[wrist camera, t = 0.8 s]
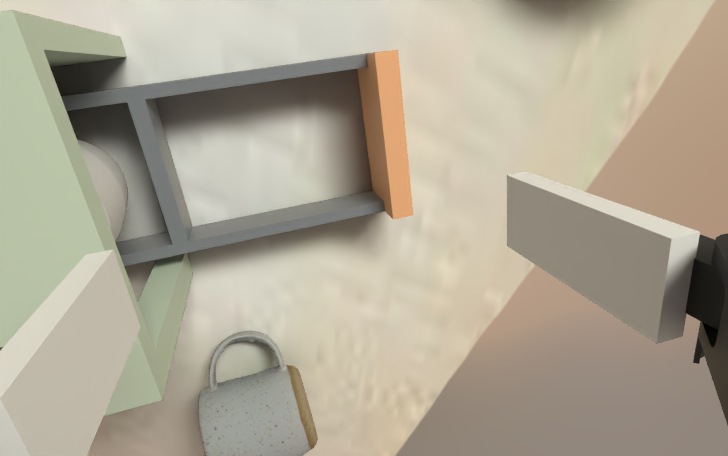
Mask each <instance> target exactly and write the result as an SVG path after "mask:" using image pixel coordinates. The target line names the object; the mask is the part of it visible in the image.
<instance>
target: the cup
mask: <svg viewBox="0 0 728 456" xmlns="http://www.w3.org/2000/svg"><path fill="white" fill-rule="evenodd" d="M77 141H78V144H79V146H80V149H81V152H82V154H83V157H84V160H85V163H86V165H87V168H88V171H89V173H90V176H91V179H92V181H93V184H94V187H95V189H96V192H97V195H98V197H99V200H100V203H101V205H102V208H103V211H104V214H105V216H106V219H107V222H108V224H109V227H110V230H111V232H112V235H113V238H114V240H115V241H116V239H117V237H118V235H119V233H120V231H121V229H122V226H123V222H124V217H125V212H126V206H127V200H128V188H127V183H126V180H125V177H124V175H123V173H122V171H121V169H120V167H119V165H118V164H117V163H116V161H115V160H114V159H113V158H112V157H111V156H110V155H108V154H107V153H106V152H104V151H103V150H101V149H99V148H98V147H96V146H94V145H92V144H90V143H87V142H84V141H81V140H77Z"/></svg>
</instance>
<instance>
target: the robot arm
mask: <svg viewBox="0 0 728 456" xmlns="http://www.w3.org/2000/svg"><path fill="white" fill-rule="evenodd" d="M507 246H508V247H510V248H511V249H513V250H514V251H516V252H517V253H519V254H520V255H522V256H523V257H525V258H526V259H528V260H529V261H531V262H533V263H534V264H536V265H537V266H539V267H540V268H542V269H543V270H545V271H546V272H548V273H549V274H551V275H553V276H554V277H555V278H557V279H559V280H560V281H561V282H563V283H565V284H566V285H568V286H569V287H571V288H572V289H574V290H575V291H577V292H578V293H580V294H581V295H583V296H584V297H586V298H587V299H589V300H590V301H592V302H593V303H595V304H597V305H598V306H600V307H601V308H603V309H604V310H606V311H607V312H609V313H610V314H612V315H613V316H615V317H617V318H618V319H620V320H621V321H622V322H624V323H626V324H627V325H628V326H630V327H632V328H633V329H635V330H636V331H638V332H639V333H641V334H643V335H644V336H645V337H647V338H648V339H650V340H651V341H653V342H654V343H656V344H657V343H661V342H664V341H668V340H671V339H674V338H678V337H681V336H683V331H684V325H685V319H686V313H687V314H689V315H690V316H692V317H694V318H696V319H698V320H700V321H701V322H700V327H699V333H698V338H697V344H696V349H695V355H694V361H693V362H694V363H699V361H700V358H701V357H703V356H705V358H706V361H707V365H708V367H709V370H710V373H711V376H712V379H713V382H714V385H715V388H716V391H717V394H718V397H719V400H720V403H721V406H722V409H723V412H724V415H725V418H726V421H727V424H728V234H723V235H720V236H718V237H717V238H716V240H714V239H711V238H708V237H706V236H703V235H700V232H698V231H696V230H693V229H690V228H687V227H684V226H681V225H679V224H676V223H672V222H670V221H667V220H664V219H661V218H658V217H655V216H653V215H650V214H647V213H644V212H641V211H638V210H635V209H632V208H629V207H627V206H623V205H621V204H618V203H615V202H612V201H609V200H606V199H604V198H601V197H598V196H595V195H592V194H589V193H586V192H583V191H580V190H578V189H575V188H572V187H569V186H566V185H563V184H560V183H557V182H555V181H552V180H549V179H546V178H543V177H540V176H537V175H534V174H531V173H529V172H522V173H516V174H511V175H507ZM139 330H140V324H139V321H138V318H137V315H136V313H135V310H134V307H133V304H132V301H131V298H130V295H129V293H128V290H127V287H126V284H125V281H124V278H123V275H122V272H121V270H120V267H119V264H118V261H117V258H116V255H115V252H114V249H113V250H108V251H102V252H97V253H92V254H86V255H85V256H84V257H83V258H82V259H81V261H80V262H79V263H78V264H77V265H76V266H75V267H74V268H73V270H72V271H71V272H70V273H69V274H68V275H67V276H66V277H65V279H64V280H63V281H62V282H61V283H60V284H59V285H58V286H57V288H56V289H55V290H54V291H53V292H52V293H51V294H50V295H49V297H48V298H47V299H46V300H45V301H44V302H43V303H42V304H41V306H40V307H39V308H38V309H37V310H36V311H35V312H34V313H33V314H32V316H31V317H30V318H29V319H28V320H27V321H26V322H25V323H24V325H23V326H22V327H21V328H20V329H19V330H18V331H17V332H16V334H15V335H14V336H13V337H12V338H11V339H10V340H9V341H8V343H7V344H6V345H5V346H4V347H0V456H87V454H88V452H89V450H90V447H91V445H92V442H93V440H94V438H95V435H96V433H97V430H98V428H99V426H100V423H101V421H102V418H103V416H104V414H105V411H106V409H107V406H108V404H109V402H110V399H111V397H112V395H113V392H114V390H115V387H116V385H117V383H118V380H119V378H120V375H121V373H122V371H123V368H124V366H125V363H126V361H127V359H128V356H129V354H130V351H131V349H132V347H133V344H134V342H135V339H136V337H137V335H138V332H139Z"/></svg>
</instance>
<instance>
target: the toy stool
mask: <svg viewBox="0 0 728 456" xmlns="http://www.w3.org/2000/svg"><path fill="white" fill-rule="evenodd" d="M123 57H126V54H125V50H124V47H123V44H122V41H121V37H119V36H115V35H111V34H107V33H103V32H99V31H95V30H91V29H87V28H83V27H79V26H75V25H71V24H66V23H62V22H58V21H54V20H50V19H46V18H42V17H38V16H34V15H30V14H26V13H22V12H18V11H14V10H7V11H0V347H4V346H5V345H6V344H7V343H8V341H9V340H10V339H11V338H12V337H13V336H14V335H15V334H16V332H17V331H18V330H19V329H20V328H21V327H22V326H23V325H24V323H25V322H26V321H27V320H28V319H29V318H30V317H31V316H32V314H33V313H34V312H35V311H36V310H37V309H38V308H39V307H40V306H41V304H42V303H43V302H44V301H45V300H46V299H47V298H48V297H49V295H50V294H51V293H52V292H53V291H54V290H55V289H56V288H57V286H58V285H59V284H60V283H61V282H62V281H63V280H64V279H65V277H66V276H67V275H68V274H69V273H70V272H71V271H72V270H73V268H74V267H75V266H76V265H77V264H78V263H79V262H80V261H81V259H82V258H83V257H84V256H85V255H86V254H92V253H97V252H102V251H108V250H113V249H114V252H115V255H116V258H117V261H118V264H119V267H120V270H121V272H122V275H123V278H124V281H125V284H126V287H127V290H128V293H129V295H130V298H131V301H132V304H133V307H134V310H135V313H136V315H137V318H138V321H139V324H140V330H139V332H138V335H137V337H136V339H135V342H134V344H133V347H132V349H131V351H130V354H129V356H128V359H127V361H126V363H125V366H124V368H123V371H122V373H121V375H120V378H119V380H118V383H117V385H116V387H115V390H114V392H113V395H112V397H111V399H110V402H109V404H108V406H107V409H106V411H105V414H104V416H106V415H110V414H113V413H117V412H121V411H124V410H128V409H132V408H136V407H139V406H143V405H147V404H150V403H154V402H158V401H161V400H163V396H164V392H165V387H166V383H167V379H168V375H169V371H170V367H171V363H172V358H173V354H174V350H175V346H176V342H177V338H178V334H179V329H180V325H181V321H182V317H183V313H184V309H185V305H186V300H187V296H188V292H189V288H190V284H191V280H192V276H193V271H192V267H191V264H190V261H189V258H188V255H187V253H185V254H180V255H175V256H171V257H166V258H161V259H157V260H156V262H155V265H154V267H153V269H152V271H151V273H150V276H149V278H148V280H147V282H146V285H145V287H144V289H143V291H142V294H141V296H140V298H139V300H138V302H137V299H136V297H135V294H134V291H133V289H132V286H131V283H130V281H129V278H128V275H127V273H126V270H125V267H124V265H123V262H122V259H121V256H120V254H119V251H118V248H117V246H116V243H115V240H114V238H113V235H112V232H111V230H110V227H109V224H108V222H107V219H106V216H105V214H104V211H103V208H102V205H101V203H100V200H99V197H98V195H97V192H96V189H95V187H94V184H93V181H92V179H91V176H90V173H89V171H88V168H87V165H86V163H85V160H84V157H83V154H82V152H81V149H80V146H79V144H78V141H77V138H76V136H75V133H74V130H73V128H72V125H71V122H70V120H69V117H68V114H67V111H66V109H65V106H64V103H63V101H62V98H61V95H60V93H59V90H58V87H57V85H56V82H55V79H54V77H53V74H52V71H51V69H50V67H52V66H60V65H68V64H76V63H84V62H91V61H99V60H107V59H115V58H123Z"/></svg>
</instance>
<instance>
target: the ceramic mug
mask: <svg viewBox="0 0 728 456" xmlns="http://www.w3.org/2000/svg"><path fill="white" fill-rule="evenodd" d="M240 341H250V342H255V341H259V342H262V343H265V344H267V345H268V346H269V347H270V348H271V349H272V350H273V352H274V354H275V356H276V358H277V361H278V364H279V365H278V367H274V368H271V369H268V370H264V371H262V372H259V373H256V374H253V375H249V376H245V377H241V378H236V379H233V380H230V381H225V382H222V383H219V384H218V383H217V382H216V372H215V370H216V362H217V359H218V357H219V355H220V354H221V353H222V352H223V350H224V348H225V347H226V346H227V345H228V344H231V343H235V342H240ZM198 417H199V427H200V433H201V438H202V444H203V447H204V452H205V456H302V455H304V454H305V453H307V452H308V451H310V450H311V449H313V448H314V446H315V445H316V443H317V440H318V439H317V434H316V429H315V426H314V422H313V418H312V414H311V411H310V407H309V404H308V400H307V397H306V393H305V390H304V386H303V383H302V380H301V376H300V373H299V371H298V369H297V368H295V367H294V366H286V365H284V361H283V357H282V354H281V352H280V350H279V349H278V347H277V345H276V344H275V342H274V341H273V340H272V339H271V338H269V337H268V336H267V335H265V334H262V333H260V332H255V331H244V332H239V333H236V334H233V335H231V336H229V337H228V338H226V339H225V340H224V341H222V342H221V343H220V344H219V346H218V347H217V349H216V350H215V352H214V354H213V356H212V359H211V362H210V366H209V387H206V388H204V389H202V391H201V393H200V396H199V401H198Z"/></svg>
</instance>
